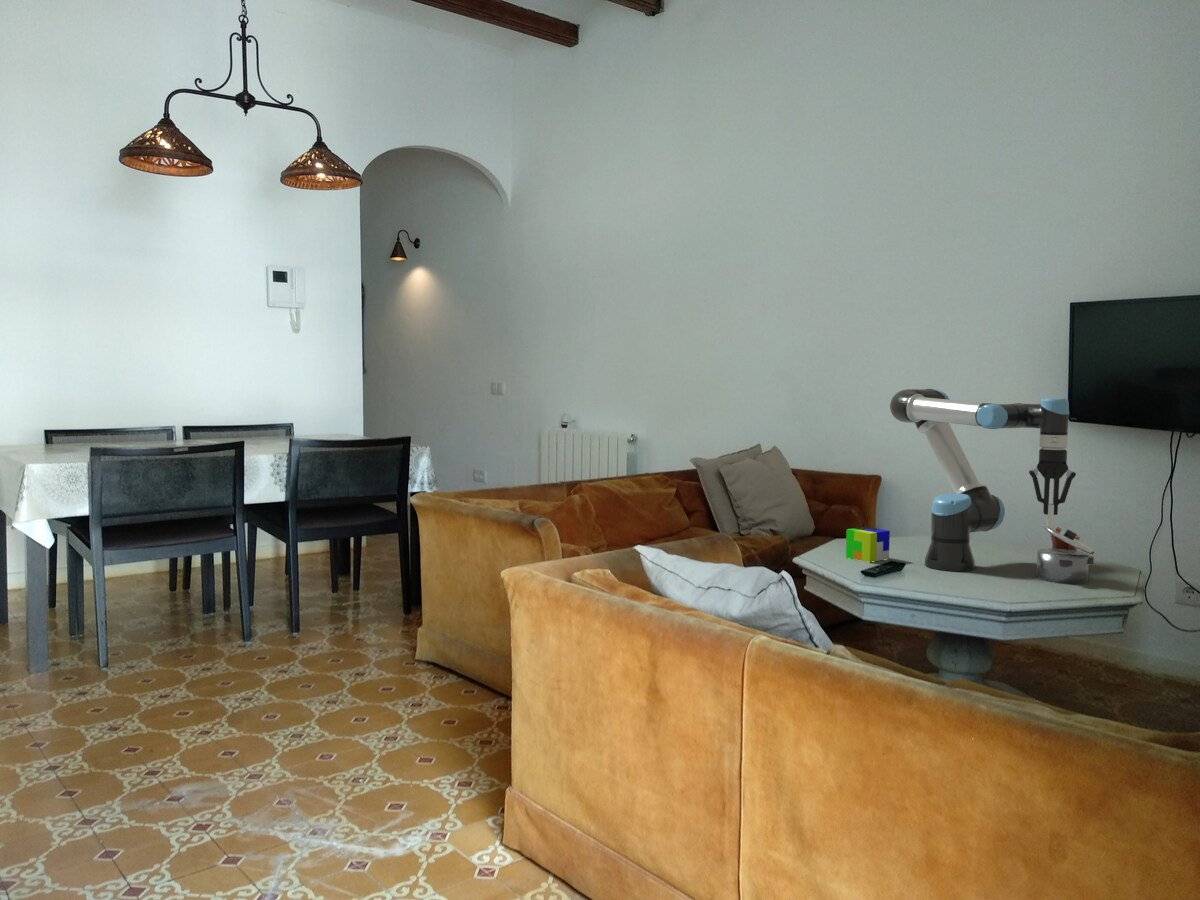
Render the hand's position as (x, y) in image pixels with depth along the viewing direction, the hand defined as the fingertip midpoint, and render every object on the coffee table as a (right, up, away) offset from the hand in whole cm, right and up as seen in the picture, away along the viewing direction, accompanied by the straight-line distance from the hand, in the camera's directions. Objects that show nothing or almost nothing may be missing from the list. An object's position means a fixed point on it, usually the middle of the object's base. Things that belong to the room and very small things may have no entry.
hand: (1049, 525), depth 266 cm
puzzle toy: (-47, -14, +30) cm, 57 cm away
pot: (+4, -16, 0) cm, 17 cm away
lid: (+5, -5, -2) cm, 7 cm away
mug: (+13, -15, +16) cm, 26 cm away
